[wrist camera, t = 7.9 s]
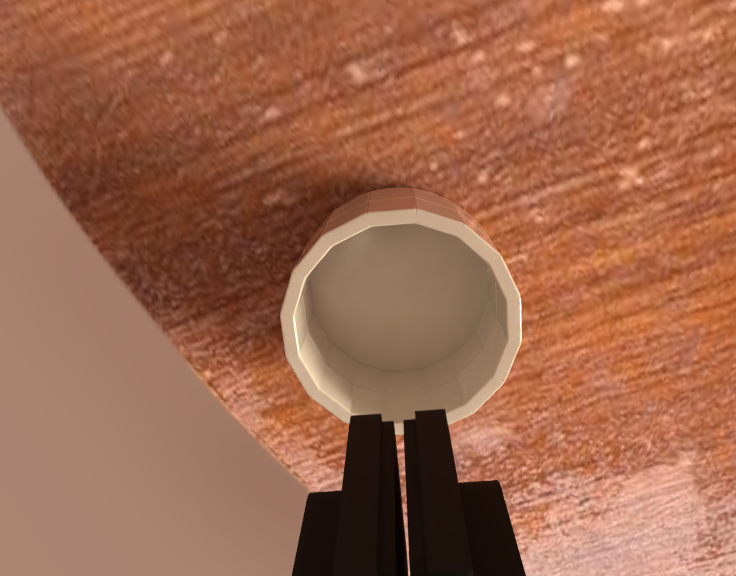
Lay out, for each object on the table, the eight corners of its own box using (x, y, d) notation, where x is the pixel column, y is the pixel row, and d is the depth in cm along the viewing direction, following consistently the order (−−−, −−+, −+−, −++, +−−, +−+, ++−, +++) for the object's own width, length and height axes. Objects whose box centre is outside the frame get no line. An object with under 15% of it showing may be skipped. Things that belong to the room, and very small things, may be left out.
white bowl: (312, 381, 25) (296, 441, 21) (289, 195, 23) (266, 221, 19) (500, 368, 25) (523, 426, 20) (494, 178, 23) (519, 199, 18)
